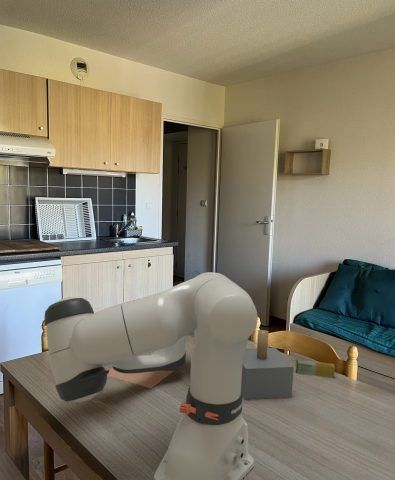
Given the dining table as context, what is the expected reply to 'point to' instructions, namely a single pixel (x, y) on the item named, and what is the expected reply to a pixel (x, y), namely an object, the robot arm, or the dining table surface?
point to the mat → (141, 377)
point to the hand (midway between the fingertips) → (248, 335)
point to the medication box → (315, 368)
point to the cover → (265, 372)
